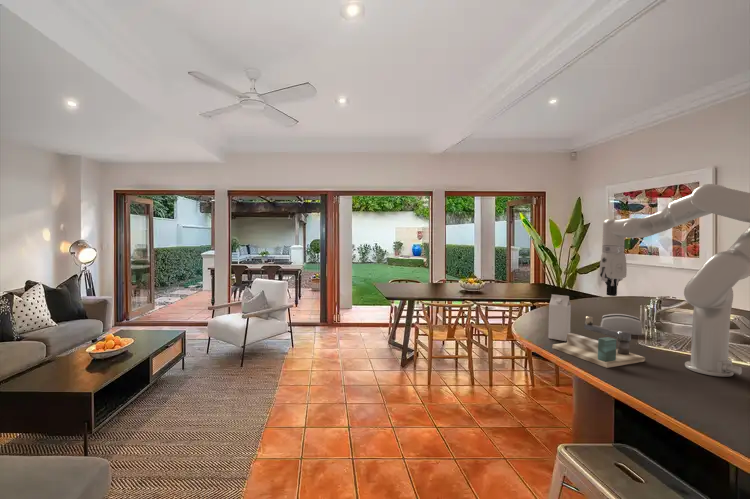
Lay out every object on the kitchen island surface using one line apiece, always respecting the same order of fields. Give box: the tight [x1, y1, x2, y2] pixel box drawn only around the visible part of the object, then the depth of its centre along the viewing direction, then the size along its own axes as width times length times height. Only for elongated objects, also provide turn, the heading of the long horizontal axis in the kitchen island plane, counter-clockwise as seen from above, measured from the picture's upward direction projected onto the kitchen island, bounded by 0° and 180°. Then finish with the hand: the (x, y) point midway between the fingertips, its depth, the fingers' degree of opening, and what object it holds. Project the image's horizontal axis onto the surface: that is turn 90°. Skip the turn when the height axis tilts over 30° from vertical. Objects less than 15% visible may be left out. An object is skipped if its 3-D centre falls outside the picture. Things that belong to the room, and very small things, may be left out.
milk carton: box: [548, 293, 572, 342], centre depth 171 cm, size 7×7×19 cm
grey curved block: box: [599, 313, 643, 336], centre depth 181 cm, size 17×5×10 cm, turn 66°
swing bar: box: [583, 315, 632, 343], centre depth 152 cm, size 18×4×6 cm, turn 21°
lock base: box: [552, 332, 646, 369], centre depth 149 cm, size 24×19×9 cm
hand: (611, 295), depth 158 cm, fingers closed
